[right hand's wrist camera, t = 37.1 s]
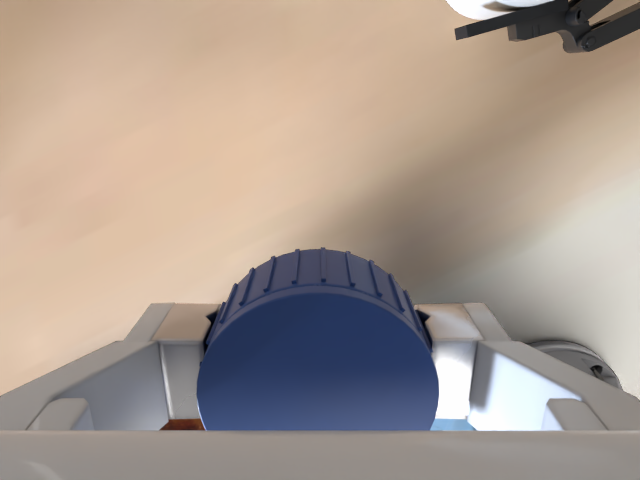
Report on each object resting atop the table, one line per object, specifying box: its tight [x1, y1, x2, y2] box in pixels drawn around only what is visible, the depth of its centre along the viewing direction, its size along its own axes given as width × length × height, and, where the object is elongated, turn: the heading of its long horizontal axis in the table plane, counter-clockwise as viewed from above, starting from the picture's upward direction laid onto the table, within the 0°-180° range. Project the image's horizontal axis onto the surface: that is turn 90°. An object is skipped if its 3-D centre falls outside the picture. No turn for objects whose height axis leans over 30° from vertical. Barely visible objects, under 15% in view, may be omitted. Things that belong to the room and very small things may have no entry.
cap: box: [196, 247, 439, 430], centre depth 9 cm, size 4×4×2 cm
